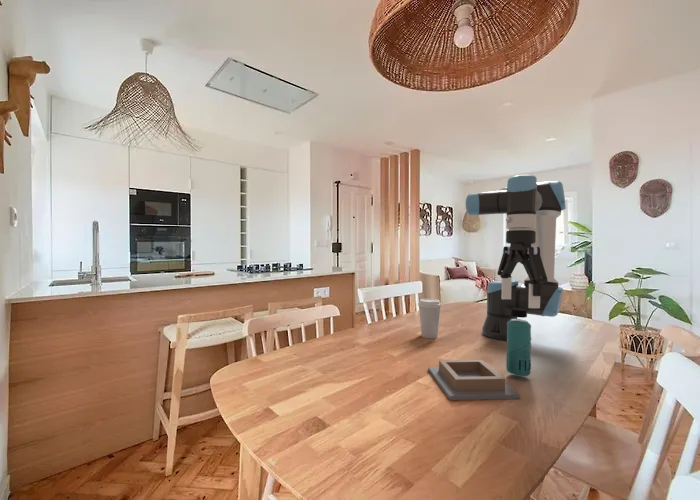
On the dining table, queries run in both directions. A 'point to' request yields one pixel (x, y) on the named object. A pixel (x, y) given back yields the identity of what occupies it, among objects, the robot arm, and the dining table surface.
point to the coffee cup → (429, 317)
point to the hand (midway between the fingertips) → (519, 303)
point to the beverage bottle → (518, 344)
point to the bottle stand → (471, 380)
